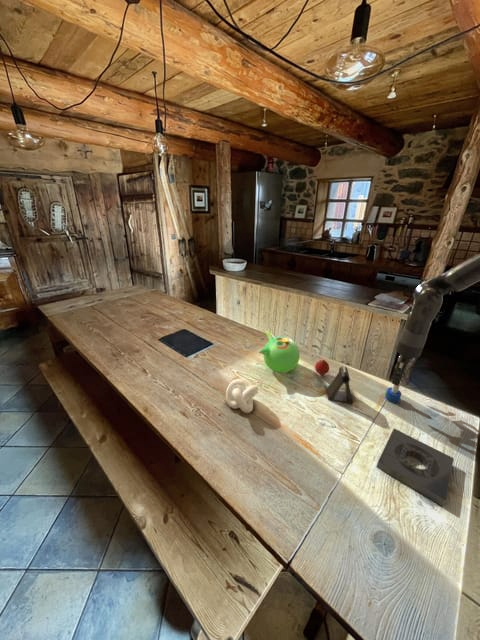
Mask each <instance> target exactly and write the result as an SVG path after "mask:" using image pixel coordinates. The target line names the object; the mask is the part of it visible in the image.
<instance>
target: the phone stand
mask: <svg viewBox="0 0 480 640" xmlns="http://www.w3.org/2000/svg"><path fill="white" fill-rule="evenodd" d="M344 369H345V371H344ZM350 381H351V377H350V374H349V370H348V367H346V366H340V367H339V369H338V373H337V374H336V376H335V377H334V378H333V380H332V381H331V383H330V384H329V385H328V387H327V388H326V392H327V393H326V394H327V400H328V401H334V402H341V403H347V404H354V401H353V397H352V391H351V388H350ZM343 384H344V390H340V389H341V388H342V386H343Z"/></svg>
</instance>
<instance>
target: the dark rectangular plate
mask: <svg viewBox="0 0 480 640" xmlns="http://www.w3.org/2000/svg"><path fill="white" fill-rule="evenodd" d="M406 457H411V458H414V459H415V460H418V462H420V463H421V464H422V465H423V467H424V468H419V467H415V466H414V465H413V464H411V463H410V462H409V461H408V459H407V458H406ZM453 465H454V457H452V456H450V455H448V454H446V453H444V452H442V451H440V450H438V449H436V448H435V447H432V446H430V445H428V444H427V443H424V442H422V441H420V440H418V439H416V438H415V437H412V436H410V435H408V434H407V433H404V432H402V431H400V430H398V429H396V428H393V429H392V431H391V434H390V435H389V438H388V440H387V442H386V444H385V445H384V448H383V450H382V452H381V454H380V456H379V459H378V460H377V463H376V466H375V467H376V468H377V469H379V470H381V471H383V472H385V473H386V474H388V475H389V476H391V477H392V478H394V479H396V480H398V481H399V482H400V483H403V484H404V485H406V486H408V487H409V488H411V489H413V490H414V491H416V492H417V493H419V494H421V495H423V496H424V497H426V498H428V499H429V500H430V501H433V502H434V503H436V504H437V505H439V506H441V507H443V506H444V505H445V503H446V501H447V495H448V492H449V485H450V480H451V475H452V470H453Z"/></svg>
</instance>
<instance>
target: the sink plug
mask: <svg viewBox="0 0 480 640" xmlns="http://www.w3.org/2000/svg"><path fill="white" fill-rule="evenodd" d="M401 383H402V380H401V381H400V384H399V386H396V385H394V384H392V387H388V388H387V389H386V393H385V395H384V398H385V400H387V401H388V402H390V403H393V404H398V403H399V402H400V399H401V398H402V391H401V390H400V386H401Z"/></svg>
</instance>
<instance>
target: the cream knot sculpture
mask: <svg viewBox="0 0 480 640" xmlns="http://www.w3.org/2000/svg"><path fill="white" fill-rule="evenodd" d="M258 393H259V386H257V385H256V384H252V385H250V386H248V384H247V382H245V380H243V379H240V378H239V379H238V378H237V379H234V380H232V381H231V382H230V383H229V384H228V386H227V388H226V391H225V400H226V403H227V405H228V406H229V408H231V409H240V410H241V411H242V412H243V413H246V414H250V413H251V412H252V411H253V408H254V403H253V402H254V401H253V397H254V396H255V395H256V394H258Z"/></svg>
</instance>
